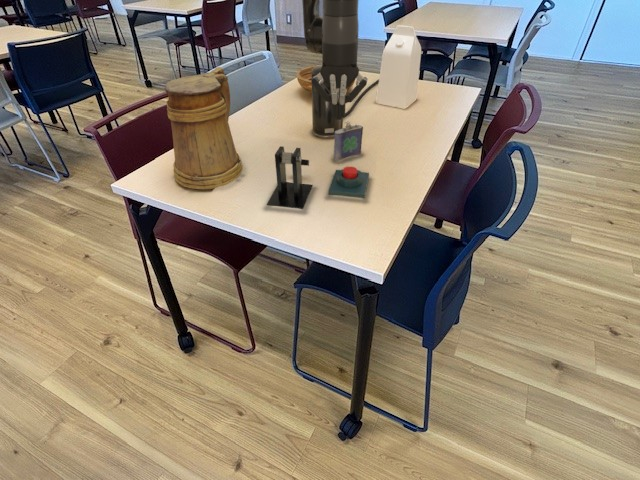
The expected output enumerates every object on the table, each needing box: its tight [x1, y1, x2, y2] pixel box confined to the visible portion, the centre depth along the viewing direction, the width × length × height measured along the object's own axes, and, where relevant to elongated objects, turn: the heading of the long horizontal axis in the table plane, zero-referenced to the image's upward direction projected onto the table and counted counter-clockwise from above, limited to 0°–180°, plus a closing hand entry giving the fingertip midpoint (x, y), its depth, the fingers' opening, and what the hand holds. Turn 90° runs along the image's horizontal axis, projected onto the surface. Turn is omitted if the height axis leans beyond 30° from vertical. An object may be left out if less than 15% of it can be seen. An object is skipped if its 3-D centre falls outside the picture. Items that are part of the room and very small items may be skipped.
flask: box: [333, 121, 364, 161], centre depth 108 cm, size 9×3×11 cm, turn 121°
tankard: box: [164, 66, 244, 190], centre depth 99 cm, size 18×24×25 cm
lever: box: [282, 151, 310, 167], centre depth 93 cm, size 12×6×2 cm
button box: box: [328, 168, 370, 199], centre depth 97 cm, size 11×9×4 cm
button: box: [343, 166, 358, 179], centre depth 96 cm, size 4×4×2 cm
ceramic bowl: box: [295, 64, 356, 94], centre depth 153 cm, size 30×24×8 cm
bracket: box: [266, 146, 314, 210], centre depth 91 cm, size 11×9×13 cm
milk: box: [375, 24, 422, 110], centre depth 140 cm, size 12×12×26 cm
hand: (338, 118), depth 90 cm, fingers closed
